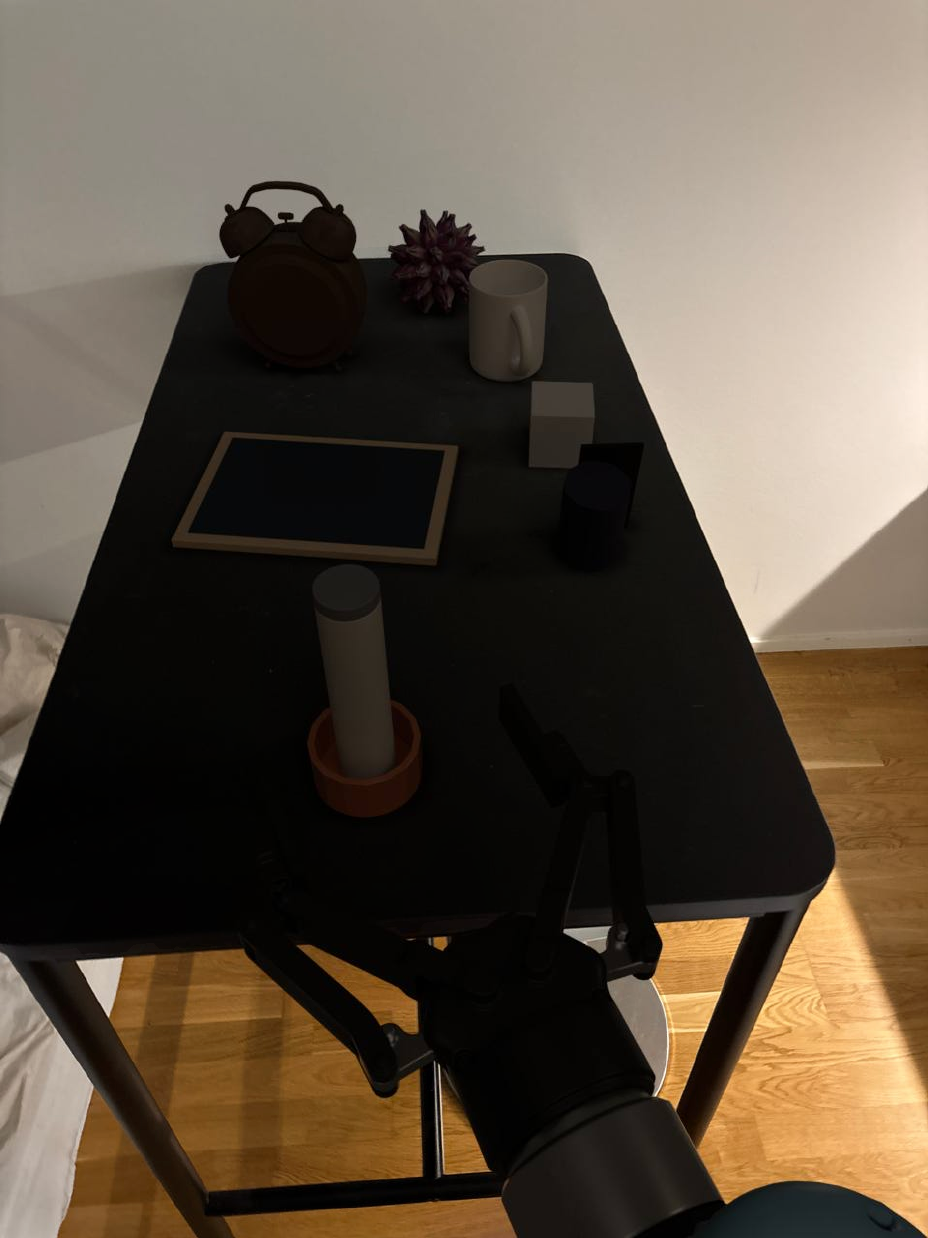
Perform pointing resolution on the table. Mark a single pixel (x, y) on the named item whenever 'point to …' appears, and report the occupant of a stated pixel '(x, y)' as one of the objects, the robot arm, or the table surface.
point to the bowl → (373, 792)
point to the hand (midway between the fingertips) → (389, 740)
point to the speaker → (598, 504)
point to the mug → (507, 319)
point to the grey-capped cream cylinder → (355, 669)
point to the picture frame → (322, 498)
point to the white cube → (560, 423)
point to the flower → (435, 261)
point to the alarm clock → (294, 280)
